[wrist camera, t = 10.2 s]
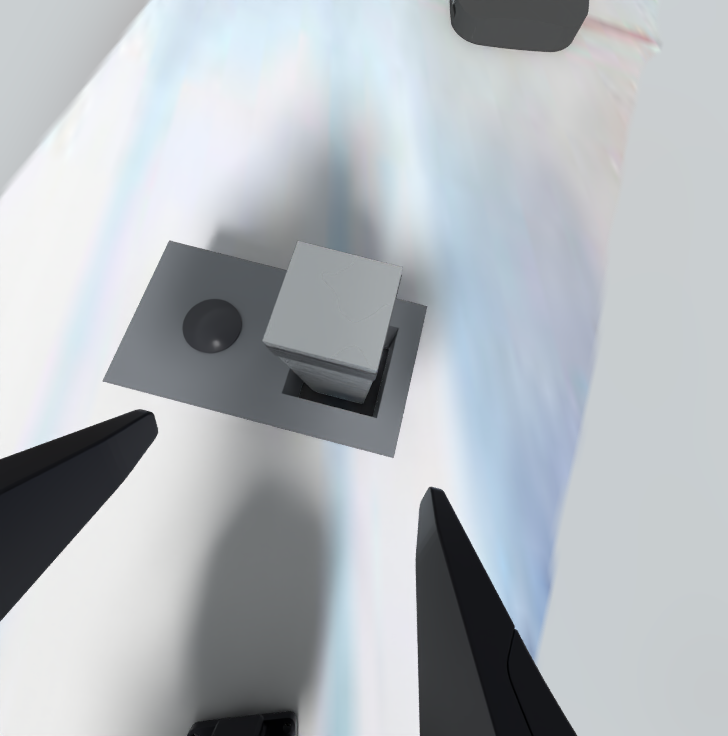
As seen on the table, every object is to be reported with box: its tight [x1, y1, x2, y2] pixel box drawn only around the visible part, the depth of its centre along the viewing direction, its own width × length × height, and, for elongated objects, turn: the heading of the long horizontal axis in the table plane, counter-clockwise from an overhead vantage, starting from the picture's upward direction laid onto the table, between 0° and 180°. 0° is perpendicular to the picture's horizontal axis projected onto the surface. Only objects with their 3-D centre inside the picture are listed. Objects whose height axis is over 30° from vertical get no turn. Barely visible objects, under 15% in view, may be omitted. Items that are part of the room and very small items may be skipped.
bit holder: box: [103, 241, 427, 458], centre depth 20 cm, size 10×18×5 cm, turn 76°
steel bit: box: [263, 241, 403, 404], centre depth 16 cm, size 4×4×13 cm
